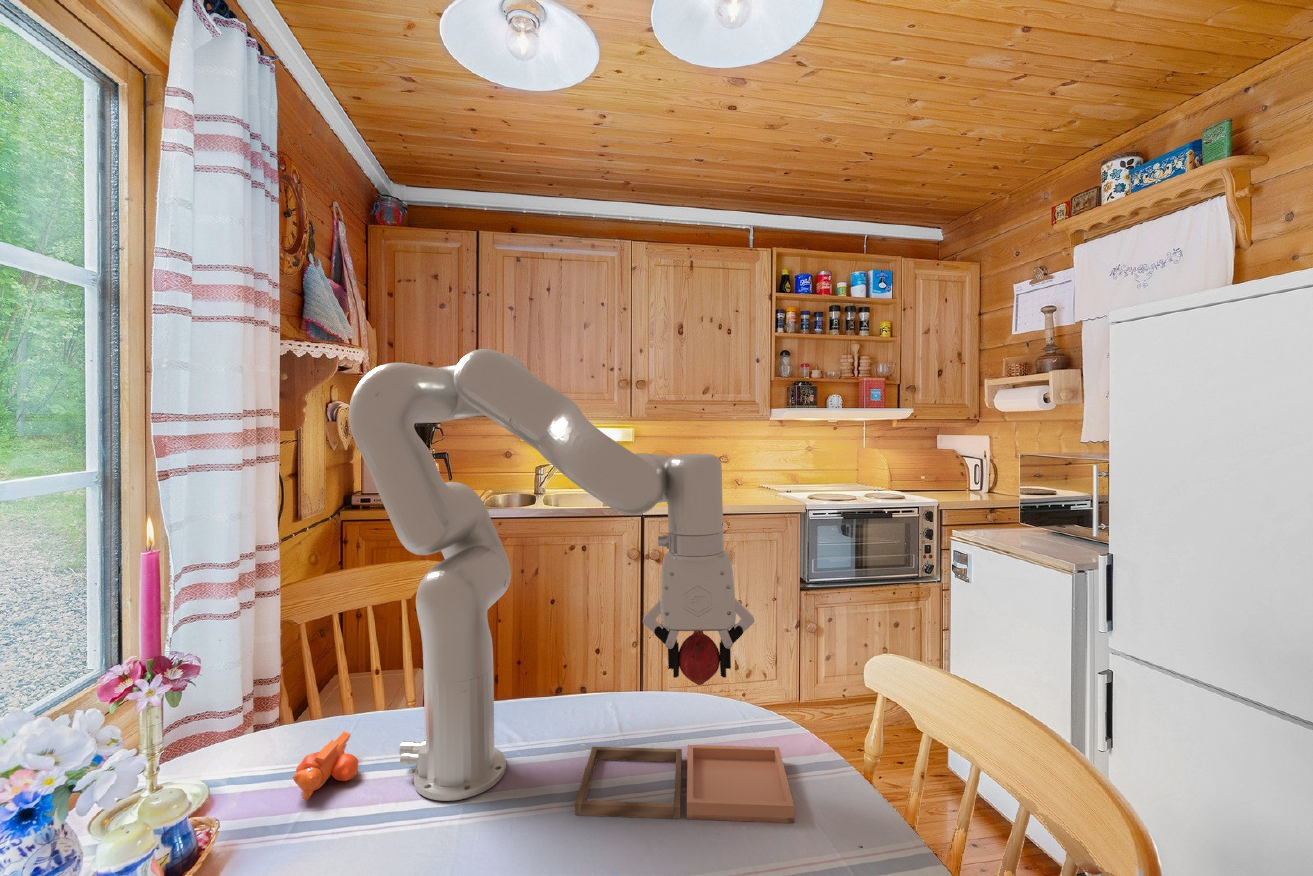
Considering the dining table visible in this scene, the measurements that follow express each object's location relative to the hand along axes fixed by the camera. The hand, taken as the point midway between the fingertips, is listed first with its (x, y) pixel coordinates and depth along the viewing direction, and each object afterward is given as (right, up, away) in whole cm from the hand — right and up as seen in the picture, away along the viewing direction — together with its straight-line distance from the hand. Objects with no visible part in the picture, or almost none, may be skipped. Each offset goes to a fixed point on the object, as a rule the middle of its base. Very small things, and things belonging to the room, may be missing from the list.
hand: (699, 672), depth 84 cm
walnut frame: (-9, -16, +1) cm, 19 cm away
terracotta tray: (+5, -16, 0) cm, 17 cm away
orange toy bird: (-52, -17, +3) cm, 55 cm away
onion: (0, -2, 0) cm, 2 cm away
